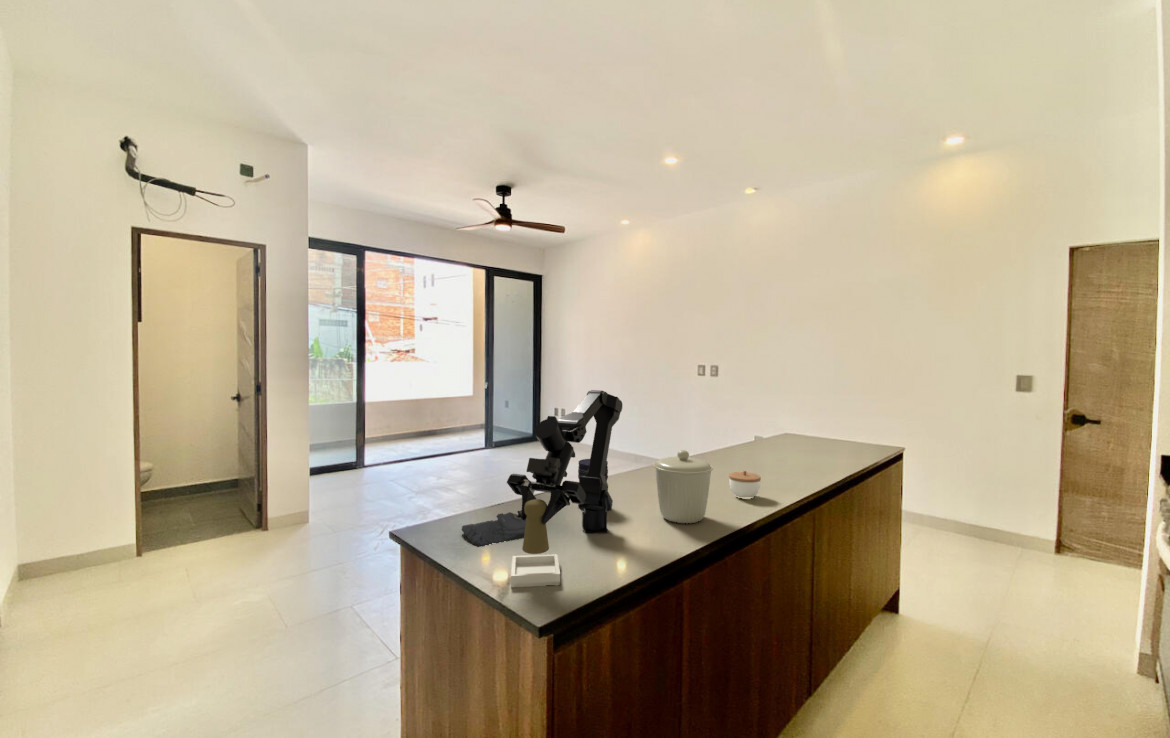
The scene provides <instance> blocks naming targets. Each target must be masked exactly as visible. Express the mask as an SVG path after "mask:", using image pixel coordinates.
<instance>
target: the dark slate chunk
mask: <svg viewBox="0 0 1170 738" xmlns="http://www.w3.org/2000/svg"><path fill="white" fill-rule="evenodd" d="M521 513H522V509H521V510H517V513H513V512H507V513H498V514H497V515H496V516H495V517H496V519H497V520H495V519H494V520H487V521H482V522H476V523H470V524H464V525H462V526H461V532H462V533H463V535H464V536H466V537H467V539H468V541H470V542H471V543H472V545H473V546H476V545H478V546H477V547H479V546H482V547H486V546H485V545H487V546H490V545H489V544H491V545H493V544H492V543H496V544H500V543H499V542H501V543H505V542H504V541H506V542H510V540H511V541H515V540H519V538H520V539H524V534H525V526H526V519H525V521H523V520H522V519H521Z"/></svg>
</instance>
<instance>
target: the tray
mask: <svg viewBox="0 0 1170 738" xmlns="http://www.w3.org/2000/svg"><path fill="white" fill-rule="evenodd" d="M511 557H512V559H511V568H510V569H511V571H510V588H529V587H547V586H546V585H555V586H561V571H560V564H559V555H558V554H556V553H554V554H553V553H552V554H528V555H526V554H525V555H512V556H511Z"/></svg>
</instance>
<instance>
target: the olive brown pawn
mask: <svg viewBox="0 0 1170 738" xmlns="http://www.w3.org/2000/svg"><path fill="white" fill-rule="evenodd" d="M547 506H548V503H547V502H546V501H545V500H542V499H537V498H536V499H533V500H529V501H527V502H526V504H525V507H524V511H525V514H526V515H527V518H526V526H525V534H524V538H523V542H522V551H523V552H524V553H527V554H528V555H541V554H543V553H546V552H547V551H549V550H550V545H549V538H548V530H547V523H546V524H542V518H543V515H544V513H545V510H546V508H547Z"/></svg>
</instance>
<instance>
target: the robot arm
mask: <svg viewBox="0 0 1170 738" xmlns="http://www.w3.org/2000/svg"><path fill="white" fill-rule="evenodd" d="M622 410H623V402H622V400H621V399H620V398H619V397H618V396H615V395H613V394H610V393H608V392H606V391H604V390H597V389H591V390H589V391H587V393H586V395H585V397H584V399H582V400H581V402H580V403H579V404H578V405H577V407H575V409H574V410H573V411H572V412H571V413H568V414H565V415H563V416H561V417H560V418H557V417H556V416H555V415H548V416H547V418H546V419H543V420H542V421H540V422H539V423H538V424H536V425H535V427H534V429H533V431H534V435H535V437H536V438H537V440H538V441H539V443H540V445H541V447H542V448H543V449H544V451H547V454H546V456H545V458H534V457H528V463H527V466H526V473H530V474H532V478H533V479H534V480H535V481H531V480H530V479H529V478H528V477H527V475H525V474H518V473H512V474H511V473H510V475H509V476H508V478H507V481H506V484H507V485H508V486H509V488H510V489H511V490H512V491H513V493H514V494H515V495H518V496H521V510H522V513H521V519H522V520H523V521H525V519H526V518H527V515H526V514H525V511H524V507H525V504H526V502H527V501H529V500H533V499H537V498H536V496H535V495H534V493H535V491H537V492H541V493H542V492H543V493H548V494H550V496H549V501H548V503H547V508H546V510H545V513H544V515H543V518H542V524H546V525H547V523H548V522H549V521H550V520H551V519H552V518H553V517H554V516H555V515H557V513H558V512H559V511H561V510H562V509H564V508H565V507H567V506H570V505H571V503H572V504H576V505H579V508H584V510H583V511H582V512H581V527H582V529H583V530H584V533H585V534H599V533H603V534H605V533H609V530H608V524H607V523H608V512H611V511H612V507H613V498H612V496H611V495H610V492H609V484H608V480H607V481H606V479H605V476H604V474H605V468H606V462H608V456H609V455H608V454H609V450H610V449H609V448H610V442H611V437H612V431H613V428H614V427H613V426H615V425H616V423H617V422H618V421H619V419H620V416H621V413H622ZM592 418H594V421H595V423H596V424H595V429H594V436H593V441H592V446H591V453H590V458H589V459H590V463H589V469H588V472H587V474H586V475H585V476H581V478H580V482H579V481H573V480H564V481H563V479H564V478H567V476H568V472H567V469H568V467H569V463H570V461H571V459H572V458H576V452H575V448H574V446H573V445H572V444H571V443H577V444H580V443H581V442H582V441H584V440H583V439H584V437H585V436H586V434H587V425H588V424H589V422H590V421H591V420H592ZM579 508H578V509H579Z"/></svg>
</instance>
